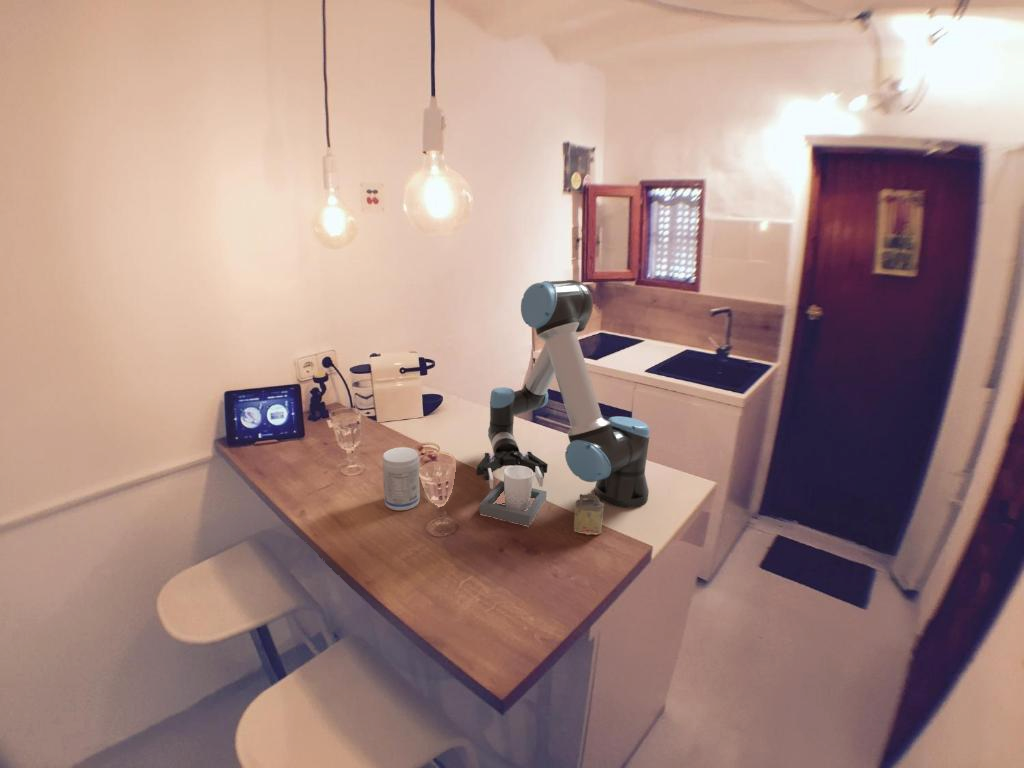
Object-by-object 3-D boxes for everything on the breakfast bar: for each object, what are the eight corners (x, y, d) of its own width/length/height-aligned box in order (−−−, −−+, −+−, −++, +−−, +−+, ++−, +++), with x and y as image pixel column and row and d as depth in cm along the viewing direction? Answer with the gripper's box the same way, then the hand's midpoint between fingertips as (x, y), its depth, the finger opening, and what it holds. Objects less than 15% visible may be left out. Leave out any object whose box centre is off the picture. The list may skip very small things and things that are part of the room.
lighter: (600, 528, 127) (604, 493, 124) (602, 537, 124) (605, 501, 121) (573, 526, 128) (575, 491, 125) (573, 534, 124) (576, 499, 121)
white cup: (529, 514, 131) (531, 480, 128) (500, 510, 132) (501, 476, 129) (533, 499, 138) (535, 467, 136) (505, 496, 140) (506, 463, 137)
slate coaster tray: (545, 504, 139) (546, 491, 138) (528, 529, 127) (529, 516, 126) (500, 493, 144) (500, 481, 143) (479, 517, 132) (479, 503, 130)
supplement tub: (387, 494, 140) (385, 446, 136) (421, 493, 141) (420, 446, 137) (382, 512, 131) (379, 462, 127) (418, 511, 132) (417, 461, 128)
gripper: (544, 458, 152) (561, 493, 132) (464, 461, 149) (469, 498, 128) (545, 436, 150) (563, 468, 130) (464, 438, 146) (470, 472, 126)
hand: (517, 483), depth 129 cm, fingers open, 12 cm apart
